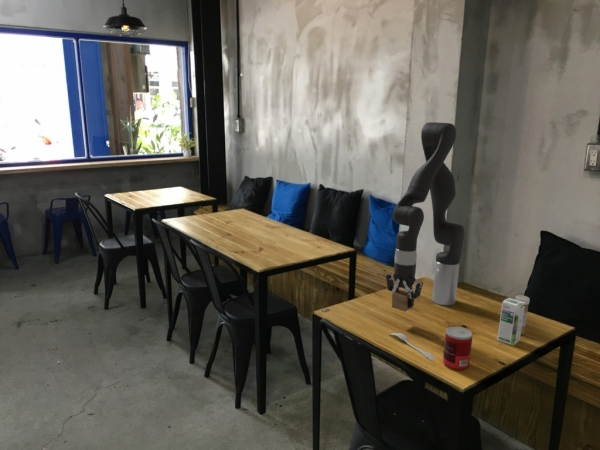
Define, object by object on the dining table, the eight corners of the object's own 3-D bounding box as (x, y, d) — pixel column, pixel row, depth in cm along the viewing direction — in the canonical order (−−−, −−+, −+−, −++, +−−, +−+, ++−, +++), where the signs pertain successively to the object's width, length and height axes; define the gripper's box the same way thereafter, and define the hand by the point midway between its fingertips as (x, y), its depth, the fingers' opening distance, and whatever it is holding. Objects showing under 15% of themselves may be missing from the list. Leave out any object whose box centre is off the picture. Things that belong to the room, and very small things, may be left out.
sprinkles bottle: (508, 329, 172) (513, 294, 168) (520, 329, 172) (525, 294, 169) (515, 335, 167) (520, 299, 164) (527, 335, 168) (532, 299, 164)
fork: (430, 368, 150) (431, 360, 149) (386, 335, 166) (387, 328, 165) (436, 365, 151) (438, 358, 150) (392, 333, 167) (393, 326, 167)
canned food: (471, 362, 149) (475, 329, 146) (465, 373, 142) (469, 340, 139) (446, 355, 152) (449, 323, 150) (439, 366, 146) (443, 333, 143)
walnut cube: (400, 302, 176) (400, 288, 174) (413, 306, 172) (414, 292, 171) (391, 307, 172) (392, 293, 171) (405, 311, 168) (406, 297, 167)
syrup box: (496, 340, 163) (501, 301, 160) (503, 335, 167) (509, 296, 164) (513, 346, 159) (519, 306, 156) (520, 340, 163) (526, 301, 160)
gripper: (429, 262, 165) (425, 307, 170) (393, 253, 175) (391, 296, 179) (418, 268, 160) (414, 314, 165) (382, 258, 170) (380, 302, 174)
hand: (402, 304), depth 172 cm, fingers closed on walnut cube, 5 cm apart
